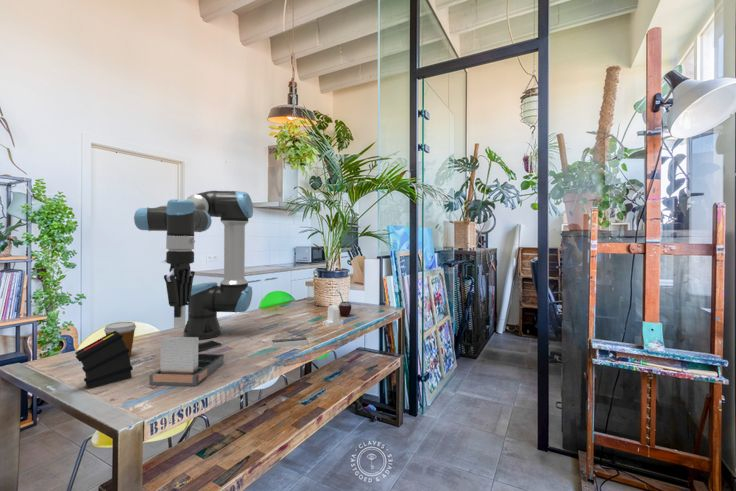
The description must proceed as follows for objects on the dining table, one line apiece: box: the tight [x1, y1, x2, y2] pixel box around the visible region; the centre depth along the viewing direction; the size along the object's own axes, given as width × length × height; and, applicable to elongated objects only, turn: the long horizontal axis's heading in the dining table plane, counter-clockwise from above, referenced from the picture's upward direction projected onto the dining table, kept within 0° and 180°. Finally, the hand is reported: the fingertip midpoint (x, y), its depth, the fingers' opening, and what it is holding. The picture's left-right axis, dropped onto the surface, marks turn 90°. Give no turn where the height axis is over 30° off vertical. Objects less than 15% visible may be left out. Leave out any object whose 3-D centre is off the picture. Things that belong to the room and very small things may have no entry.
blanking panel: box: [160, 336, 199, 375], centre depth 106 cm, size 10×3×12 cm, turn 89°
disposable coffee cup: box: [103, 321, 137, 357], centre depth 124 cm, size 10×10×12 cm
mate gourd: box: [336, 289, 352, 318], centre depth 197 cm, size 8×8×15 cm
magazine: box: [74, 331, 134, 389], centre depth 104 cm, size 4×13×15 cm, turn 140°
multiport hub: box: [270, 337, 309, 349], centre depth 144 cm, size 4×14×2 cm, turn 111°
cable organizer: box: [322, 304, 344, 328], centre depth 178 cm, size 5×10×10 cm, turn 130°
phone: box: [198, 340, 222, 353], centre depth 136 cm, size 8×1×15 cm
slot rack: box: [149, 353, 225, 387], centre depth 112 cm, size 14×19×3 cm
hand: (179, 326), depth 106 cm, fingers closed
